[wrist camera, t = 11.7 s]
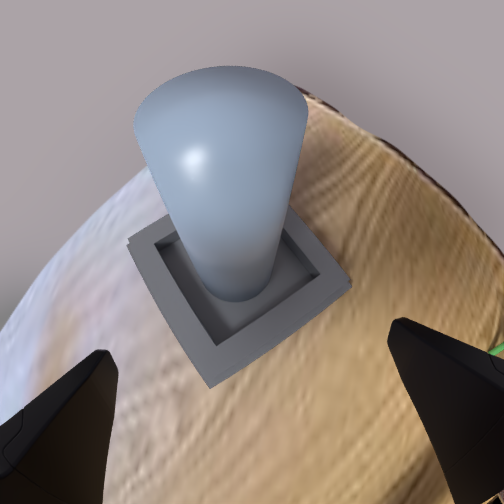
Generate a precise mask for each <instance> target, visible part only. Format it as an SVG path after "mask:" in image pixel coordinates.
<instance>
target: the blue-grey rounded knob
mask: <svg viewBox="0 0 504 504" xmlns="http://www.w3.org/2000/svg"><path fill="white" fill-rule="evenodd" d="M307 119H308V106H307V102H306V100H305V98H304V96H303V95H302V93H301V92H300V91H299V90H298V89H297V88H296V87H295V86H294V85H293V84H291V83H290V82H288V81H287V80H285V79H283V78H282V77H280V76H278V75H275V74H273V73H270V72H267V71H264V70H260V69H256V68H250V67H242V66H217V67H209V68H204V69H199V70H195V71H191V72H188V73H185V74H182V75H180V76H177V77H175V78H173V79H171V80H169V81H167V82H165V83H164V84H162V85H161V86H159V87H158V88H156V89H155V90H154V91H153V92H151V93H150V94H149V95H148V96H147V97H146V98H145V100H144V101H143V102H142V103H141V105H140V106H139V108H138V110H137V112H136V115H135V118H134V132H135V136H136V138H137V141H138V143H139V146H140V148H141V151H142V153H143V156H144V158H145V160H146V163H147V165H148V168H149V170H150V172H151V175H152V177H153V179H154V182H155V184H156V186H157V189H158V191H159V193H160V195H161V198H162V200H163V202H164V204H165V206H166V209H167V211H168V213H169V215H170V217H171V220H172V222H173V224H174V226H175V228H176V230H177V232H178V234H179V237H180V239H181V241H182V243H183V245H184V247H185V249H186V251H187V253H188V255H189V257H190V259H191V261H192V263H193V265H194V267H195V269H196V271H197V273H198V275H199V277H200V279H201V281H202V283H203V285H204V286H205V288H206V289H207V290H208V291H209V292H210V293H211V294H212V295H213V296H215V297H217V298H218V299H221V300H223V301H227V302H243V301H247V300H249V299H252V298H254V297H255V296H257V295H258V294H259V293H261V292H262V291H263V290H264V288H265V287H266V286H267V284H268V282H269V279H270V277H271V273H272V269H273V265H274V261H275V257H276V253H277V249H278V245H279V241H280V237H281V233H282V229H283V224H284V220H285V216H286V212H287V208H288V204H289V199H290V195H291V191H292V187H293V182H294V178H295V174H296V169H297V165H298V160H299V156H300V151H301V147H302V142H303V138H304V133H305V129H306V124H307Z"/></svg>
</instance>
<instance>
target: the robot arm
mask: <svg viewBox="0 0 504 504" xmlns="http://www.w3.org/2000/svg"><path fill="white" fill-rule="evenodd" d="M387 343H388V347H389V349H390V352H391V354H392V357H393V359H394V362H395V364H396V367H397V369H398V372H399V375H400V377H401V379H402V382H403V384H404V386H405V388H406V390H407V392H408V394H409V396H410V398H411V400H412V402H413V404H414V406H415V408H416V410H417V412H418V415H419V417H420V419H421V421H422V423H423V425H424V427H425V430H426V432H427V434H428V436H429V439H430V441H431V443H432V446H433V448H434V450H435V453H436V455H437V457H438V460H439V462H440V465H441V467H442V470H443V472H444V475H445V478H446V481H447V483H448V486H449V489H450V492H451V494H452V497H453V500H454V503H455V504H482V503H483V502H485V501H487V500H488V499H490V498H492V497H493V496H495V495H496V494H497V495H496V496H495V497H494V498H493V499H492V500H490V501H489V502H488V503H487V504H504V359H501V358H499V357H496V356H494V355H492V354H488V353H487V352H485V351H482V350H480V349H478V348H475V347H473V346H471V345H468V344H466V343H464V342H461V341H459V340H457V339H454V338H452V337H450V336H447V335H445V334H443V333H440V332H438V331H436V330H433V329H431V328H429V327H426V326H424V325H422V324H419V323H417V322H415V321H412V320H410V319H408V318H405V317H401V318H398V319H395V320H393V322H392V324H391V328H390V331H389V335H388V339H387ZM117 383H118V369H117V366H116V364H115V362H114V360H113V358H112V356H111V354H110V352H109V351H108V350H101V349H98V350H95V351H94V352H92V353H91V354H90V355H89V356H87V357H86V358H85V359H84V360H82V361H81V362H80V363H78V364H77V365H76V366H75V367H73V368H72V369H71V370H70V371H68V372H67V373H66V374H65V375H63V376H62V377H61V378H60V379H58V380H57V381H56V382H55V383H53V384H52V385H51V386H50V387H48V388H47V389H46V390H45V391H43V392H42V393H41V394H40V395H39V396H37V397H36V398H35V399H34V400H32V401H31V402H30V403H29V404H27V405H26V406H25V407H24V409H21V410H20V411H19V412H18V413H17V414H15V415H14V416H13V417H12V418H10V419H9V420H8V421H6V422H5V423H4V424H2V425H1V426H0V504H102V503H103V490H104V480H105V472H106V464H107V456H108V450H109V443H110V437H111V431H112V426H113V420H114V414H115V404H116V393H117Z"/></svg>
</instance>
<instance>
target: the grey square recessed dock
mask: <svg viewBox="0 0 504 504" xmlns="http://www.w3.org/2000/svg"><path fill="white" fill-rule="evenodd" d="M128 240H129V244H128V245H127V248H128V250H129V252H130V254H131V256H132V258H133V260H134V262H135V264H136V266H137V268H138V270H139V272H140V274H141V276H142V278H143V280H144V282H145V284H146V286H147V288H148V289H149V291H150V293H151V295H152V297H153V299H154V301H155V302H156V304H157V306H158V308H159V309H160V311H161V313H162V315H163V316H164V318H165V320H166V322H167V323H168V325H169V327H170V328H171V330H172V332H173V333H174V335H175V337H176V338H177V340H178V342H179V343H180V345H181V346H182V348H183V350H184V351H185V353H186V354H187V356H188V357H189V359H190V361H191V362H192V364H193V365H194V367H195V368H196V370H197V371H198V373H199V374H200V375H201V377H202V378H203V380H204V381H205V383H206V384H207V386H208V387H209V388H210V389H211V388H212V387H214V386H216V385H217V384H219V383H221V382H222V381H224V380H225V379H227V378H229V377H230V376H232V375H233V374H235V373H236V372H238V371H239V370H241V369H242V368H244V367H246V366H247V365H249V364H250V363H252V362H253V361H255V360H256V359H258V358H259V357H260V356H262V355H263V354H265V353H266V352H268V351H269V350H271V349H272V348H273V347H275V346H276V345H278V344H279V343H280V342H282V341H283V340H285V339H286V338H287V337H289V336H290V335H291V334H293V333H294V332H296V331H297V330H298V329H300V328H301V327H302V326H304V325H305V324H306V323H308V322H309V321H310V320H311V319H313V318H314V317H315V316H317V315H318V314H319V313H320V312H322V311H323V310H324V309H326V308H327V307H328V306H329V305H331V304H332V303H333V302H334V301H335V300H337V299H338V298H339V297H340V296H342V295H343V294H344V293H345V292H346V291H348V290H349V289H350V288H351V287H352V286H351V285H350V283H349V282H348V281H349V280H350V278H349V277H348V276H347V274H346V273H345V272H344V270H343V269H342V268H341V267H340V265H339V264H338V263H337V262H336V260H335V259H334V258H333V257H332V255H331V254H330V253H329V252H328V250H327V249H326V248H325V247H324V246H323V244H322V243H321V242H320V241H319V240H318V238H317V237H316V236H315V235H314V234H313V232H312V231H311V230H310V229H309V228H308V226H307V225H306V224H305V223H304V222H303V221H302V219H301V218H300V217H299V216H298V215H297V214H296V212H295V211H294V210H293V209H292V208H291V207H290V205H289V204H288V208H287V212H286V216H285V220H284V224H283V229H282V233H281V237H280V241H279V245H278V249H277V253H276V257H275V261H274V265H273V269H272V273H271V277H270V279H269V282H268V284H267V286H266V287H265V288H264V290H263V291H262V292H261V293H259V294H258V295H257V296H255V297H254V298H252V299H249V300H247V301H243V302H227V301H223V300H221V299H218V298H217V297H215V296H213V295H212V294H211V293H210V292H209V291H208V290H207V289H206V288H205V286H204V285H203V283H202V281H201V279H200V277H199V275H198V273H197V271H196V269H195V267H194V265H193V263H192V261H191V259H190V257H189V255H188V253H187V251H186V249H185V247H184V245H183V243H182V241H181V239H180V237H179V234H178V232H177V230H176V228H175V226H174V224H173V222H172V220H171V217H170V215H169V214H167V215H166V216H164V217H162V218H161V219H159V220H157V221H156V222H154V223H152V224H151V225H149V226H147V227H146V228H144V229H142V230H141V231H139V232H137V233H136V234H134V235H133V236H131V237H129V238H128Z"/></svg>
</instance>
